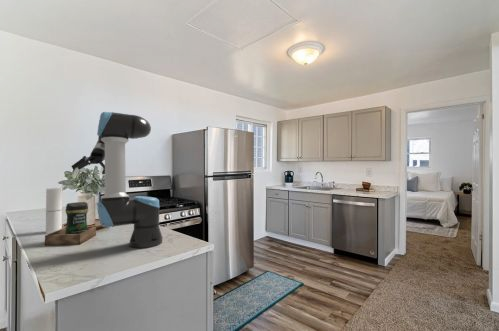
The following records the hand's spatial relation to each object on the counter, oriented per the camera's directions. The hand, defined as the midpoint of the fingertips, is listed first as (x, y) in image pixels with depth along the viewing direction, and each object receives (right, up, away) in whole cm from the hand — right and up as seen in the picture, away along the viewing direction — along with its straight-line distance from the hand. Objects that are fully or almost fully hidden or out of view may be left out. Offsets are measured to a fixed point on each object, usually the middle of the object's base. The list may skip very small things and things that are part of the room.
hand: (86, 177), depth 133 cm
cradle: (-1, -32, -9) cm, 33 cm away
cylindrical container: (-22, -32, +5) cm, 39 cm away
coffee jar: (+1, -31, -8) cm, 32 cm away
